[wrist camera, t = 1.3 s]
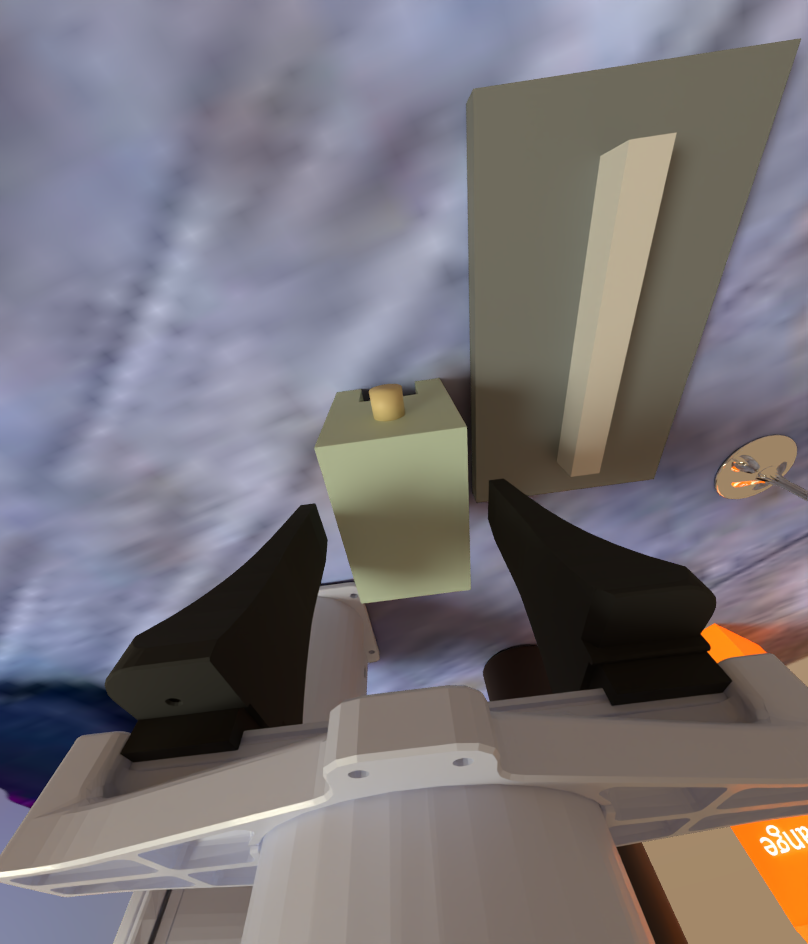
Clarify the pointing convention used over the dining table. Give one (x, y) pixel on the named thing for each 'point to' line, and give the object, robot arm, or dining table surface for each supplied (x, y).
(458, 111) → the dining table surface
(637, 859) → the bottle
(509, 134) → the cleat board
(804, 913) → the orange juice
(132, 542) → the dining table surface
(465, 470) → the cabinet block
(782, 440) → the wineglass
